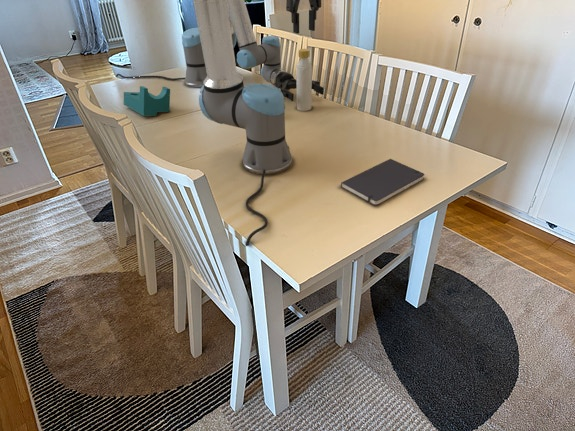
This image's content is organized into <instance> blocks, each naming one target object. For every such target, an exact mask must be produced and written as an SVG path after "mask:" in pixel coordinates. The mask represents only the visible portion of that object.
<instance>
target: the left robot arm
mask: <svg viewBox="0 0 575 431" xmlns="http://www.w3.org/2000/svg"><path fill="white" fill-rule="evenodd" d="M227 7H228V14H229V21H230V28H231V35H232V42H233V49H234V48H235V46H236V45H237V46H238V49H239V50H238V52H237V54H236V63H237V65H238V66H239V67H240V68H241V69H244V70H249V69H254V68H255V67H258V66H260V65H261V69H260V76H261V78H262V79H263V80H264V81H266V82H267V83H269V84H270V85H272V86H275V87H277V88H278V89H279V90H280V91H281V92H282V94H283V96H284V98H286V99H288V100H289V101H291V102H294V101H295V95H294V93H293V92H291V90H297V85H296V78H295V77H294V75H293V74H291V73H290V72H288V71H286V70H284V69H282V63H281V62H282V61H281V39H280V37H278V36H277V35H267V36H264V37H263V38H262V39H261V40H262V41H261V44H258V42H257V40H256V36H255V32H254V29H253V25H252V22H251V19H250V15H249V11H248V8H247V4H246V0H227ZM181 44H182V47H183V53H184V59H185V66H186V68H185V69H186V70H185V77H174V78H173V77H167V76H165V75H136V76H135V75H134V76H124V75H122V74H121V73H117V74H116V75H115V77H116V78H118V77H121V78H122V79H127V80H128V79H129V80H130V79H142V78H144V79H145V78H146V79H147V78H158V79H164V80H169V81H181V80H184V83H185V86H187V87H190V88H202V86H203V85H204V84H203V81H204V80H205V78H206V77H207V72H206V66H205V61H204V56H203V51H202V45H201V40H200V35H199V30H198V26H197V27H192V28H189V29H187V30H185V31H183V33H182V34H181ZM139 76H140V77H139ZM133 77H135V78H133ZM312 90H313V91H314V92H316V93H317V94H320V95H321V96H322V95H323V96H324V93H325V91H324V90H325V88H324V87H323V86H321V82H320V81H318V80H314V79H312Z"/></svg>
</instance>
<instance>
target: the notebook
mask: <svg viewBox="0 0 575 431" xmlns="http://www.w3.org/2000/svg"><path fill="white" fill-rule="evenodd" d="M424 176H425V173H424V172H422V171H420V170H417V169H415V168H413V167H410V166H408V165H406V164H404V163H401V162H399V161H397V160H395V159H393V158H389V159H387V160H385V161H382V162H380V163H379V164H377V165H375V166H372V167H370V168H368V169H366V170H364V171H362V172H360V173H358V174H356V175H353V176H351V177H350V178H348V179H345V180H344V181H341V182H340V183H341V184H340V187H341V188H342V189H344V190H345V191H347V192H349V193H350V194H353V195H355V196H356V197H358V198H360V199H362V200H363V201H365V202H367V203H369V204H371V205H373V206H379V205H381V204H382V203H384V202H386V201H388V200H390V199H391V198H393V197H395V196H397V195H398V194H400V193H402V192H404V191H406V190H407V189H409V188H411V187H413V186H415V185H416V184H418V183H420V182H422V181H423V180H424Z"/></svg>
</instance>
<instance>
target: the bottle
mask: <svg viewBox="0 0 575 431" xmlns="http://www.w3.org/2000/svg"><path fill="white" fill-rule="evenodd" d="M295 71H296V72H295V73H296V74H295V76H296V77H295V79H296V85H297V89H296V110H298V111H300V112H304V111H305V112H307V111H310V110H311V109H312V100H313V99H312V98H313V97H312V94H313V92H312V90H313V89H312V80H313V66H312V64H311V62H310V60H309V57H308V58H300V59H299V61H298V63H297V64H296V68H295Z"/></svg>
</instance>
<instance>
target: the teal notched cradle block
mask: <svg viewBox="0 0 575 431" xmlns="http://www.w3.org/2000/svg"><path fill="white" fill-rule="evenodd" d="M123 105H124V106H126V107H128V109H131V110H133V111H134V112H136V113H138V114H139V115H141V116H143V117H156V116H158V113H170V109H171V108H170V105H171V88H169V87H166V86H162V87H161V91H160V93H159V94H158V95H155V94H153V93H151V92H149V89H148V88H147V87H145V86H141V85H140V86H139V91H123Z"/></svg>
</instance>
